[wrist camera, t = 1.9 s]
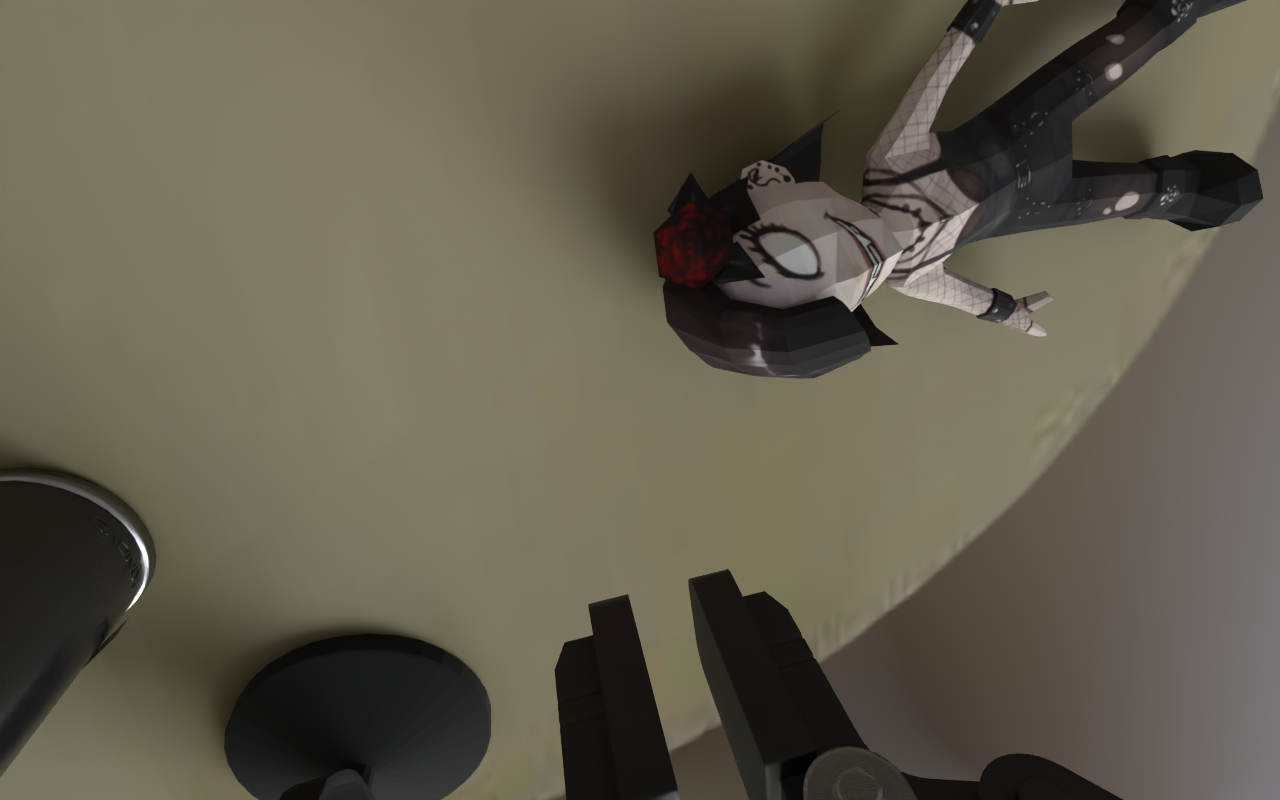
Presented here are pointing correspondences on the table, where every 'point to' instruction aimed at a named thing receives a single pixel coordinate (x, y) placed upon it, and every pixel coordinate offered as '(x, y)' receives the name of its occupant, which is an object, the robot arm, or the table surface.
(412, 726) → the microphone
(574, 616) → the table surface
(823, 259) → the figurine
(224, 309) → the table surface
